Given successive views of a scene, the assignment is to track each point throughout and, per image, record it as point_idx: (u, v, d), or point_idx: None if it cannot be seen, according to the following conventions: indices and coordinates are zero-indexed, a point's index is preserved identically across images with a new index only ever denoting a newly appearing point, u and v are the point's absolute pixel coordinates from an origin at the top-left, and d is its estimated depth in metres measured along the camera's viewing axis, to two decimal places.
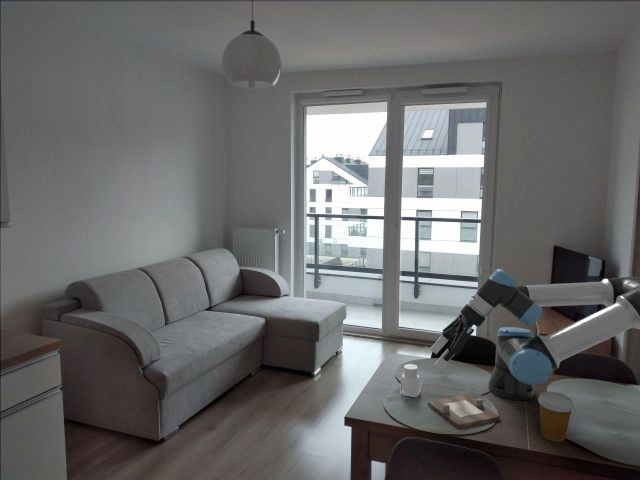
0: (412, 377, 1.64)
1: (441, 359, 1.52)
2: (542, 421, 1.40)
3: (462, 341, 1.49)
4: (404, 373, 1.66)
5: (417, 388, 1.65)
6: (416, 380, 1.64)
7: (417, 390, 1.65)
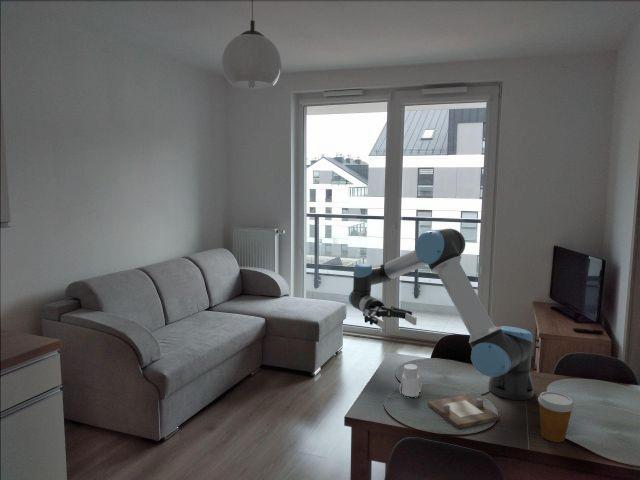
0: (412, 377, 1.64)
1: (378, 324, 1.73)
2: (542, 421, 1.40)
3: None
4: (404, 373, 1.66)
5: (417, 388, 1.65)
6: (416, 380, 1.64)
7: (417, 390, 1.65)
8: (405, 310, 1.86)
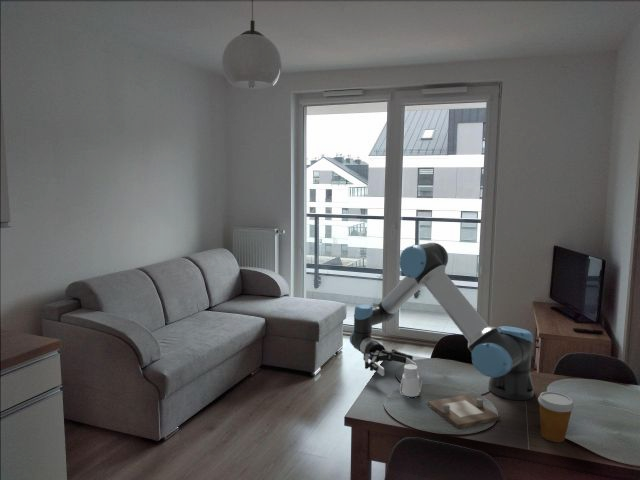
0: (412, 377, 1.64)
1: (378, 371, 1.73)
2: (542, 421, 1.40)
3: None
4: (404, 373, 1.66)
5: (417, 388, 1.65)
6: (416, 380, 1.64)
7: (417, 390, 1.65)
8: (406, 354, 1.86)
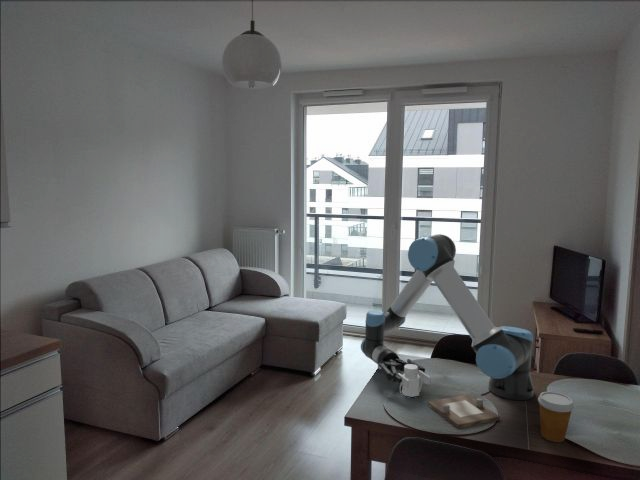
0: (412, 377, 1.64)
1: (402, 383, 1.63)
2: (542, 421, 1.40)
3: (384, 371, 1.70)
4: (404, 373, 1.66)
5: (417, 388, 1.65)
6: (416, 380, 1.64)
7: (417, 390, 1.65)
8: (419, 365, 1.74)
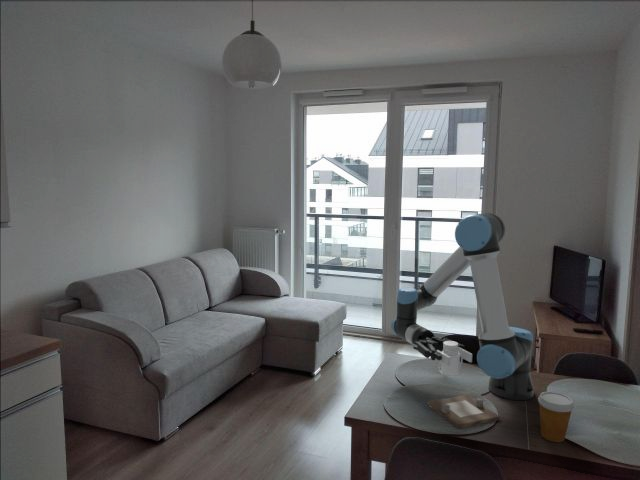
0: (453, 354, 1.54)
1: (443, 360, 1.52)
2: (542, 421, 1.40)
3: (421, 349, 1.60)
4: (443, 350, 1.56)
5: (458, 366, 1.54)
6: (457, 357, 1.53)
7: (458, 368, 1.54)
8: None
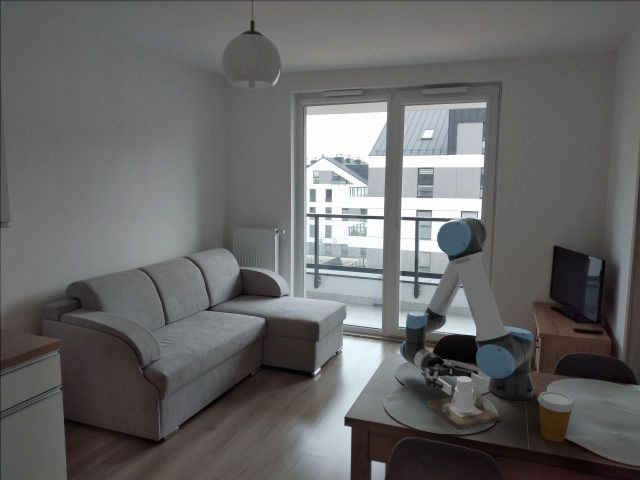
0: (466, 391, 1.52)
1: (444, 389, 1.52)
2: (542, 421, 1.40)
3: (425, 376, 1.59)
4: (457, 386, 1.54)
5: (472, 402, 1.52)
6: (471, 394, 1.52)
7: (471, 405, 1.52)
8: (469, 368, 1.64)
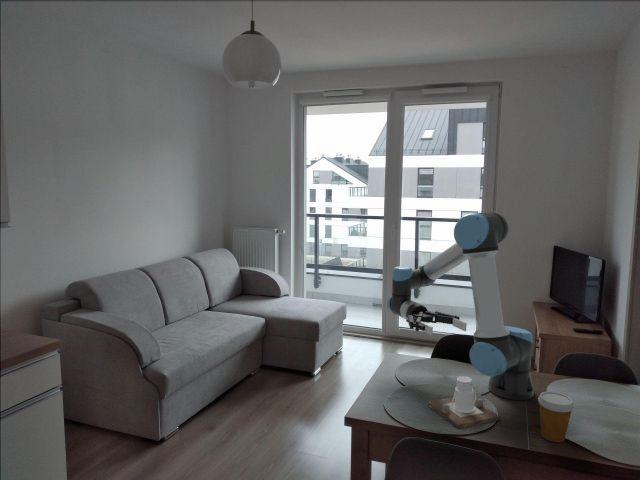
0: (466, 391, 1.52)
1: (426, 331, 1.61)
2: (542, 421, 1.40)
3: (409, 321, 1.68)
4: (457, 386, 1.54)
5: (472, 402, 1.52)
6: (471, 394, 1.52)
7: (471, 405, 1.52)
8: (451, 315, 1.73)
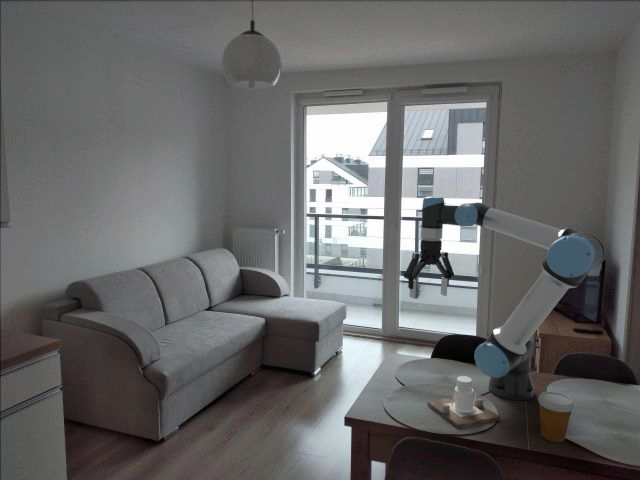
0: (466, 391, 1.52)
1: (410, 290, 1.74)
2: (542, 421, 1.40)
3: (410, 266, 1.72)
4: (457, 386, 1.54)
5: (472, 402, 1.52)
6: (471, 394, 1.52)
7: (471, 405, 1.52)
8: (451, 268, 1.77)
